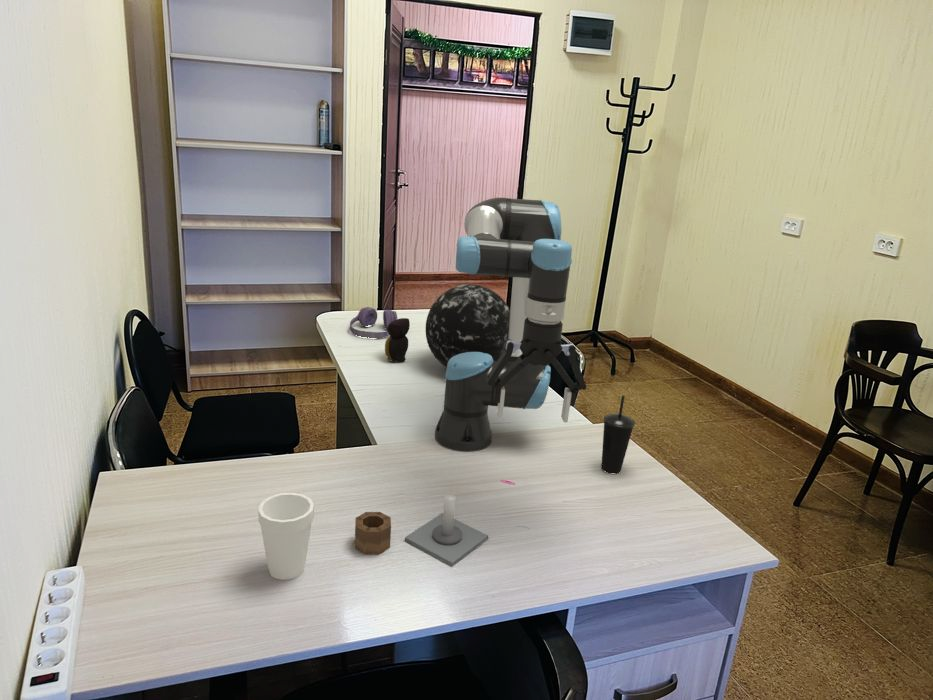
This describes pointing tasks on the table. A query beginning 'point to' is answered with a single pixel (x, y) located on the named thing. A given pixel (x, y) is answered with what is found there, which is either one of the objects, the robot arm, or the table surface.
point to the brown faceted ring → (372, 532)
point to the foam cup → (286, 533)
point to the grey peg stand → (447, 536)
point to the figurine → (397, 340)
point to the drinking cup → (616, 440)
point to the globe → (467, 323)
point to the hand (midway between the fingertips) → (532, 418)
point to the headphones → (372, 322)
